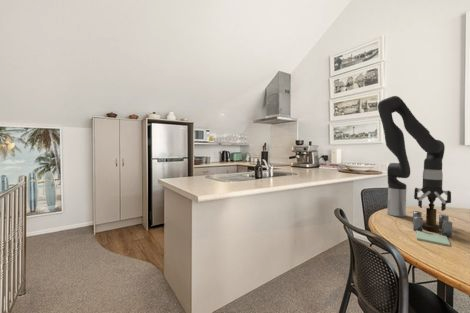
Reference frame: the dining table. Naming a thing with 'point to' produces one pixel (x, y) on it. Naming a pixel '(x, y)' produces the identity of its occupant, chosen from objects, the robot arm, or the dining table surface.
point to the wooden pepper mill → (431, 217)
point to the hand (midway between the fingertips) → (431, 209)
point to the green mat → (432, 238)
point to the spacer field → (443, 223)
